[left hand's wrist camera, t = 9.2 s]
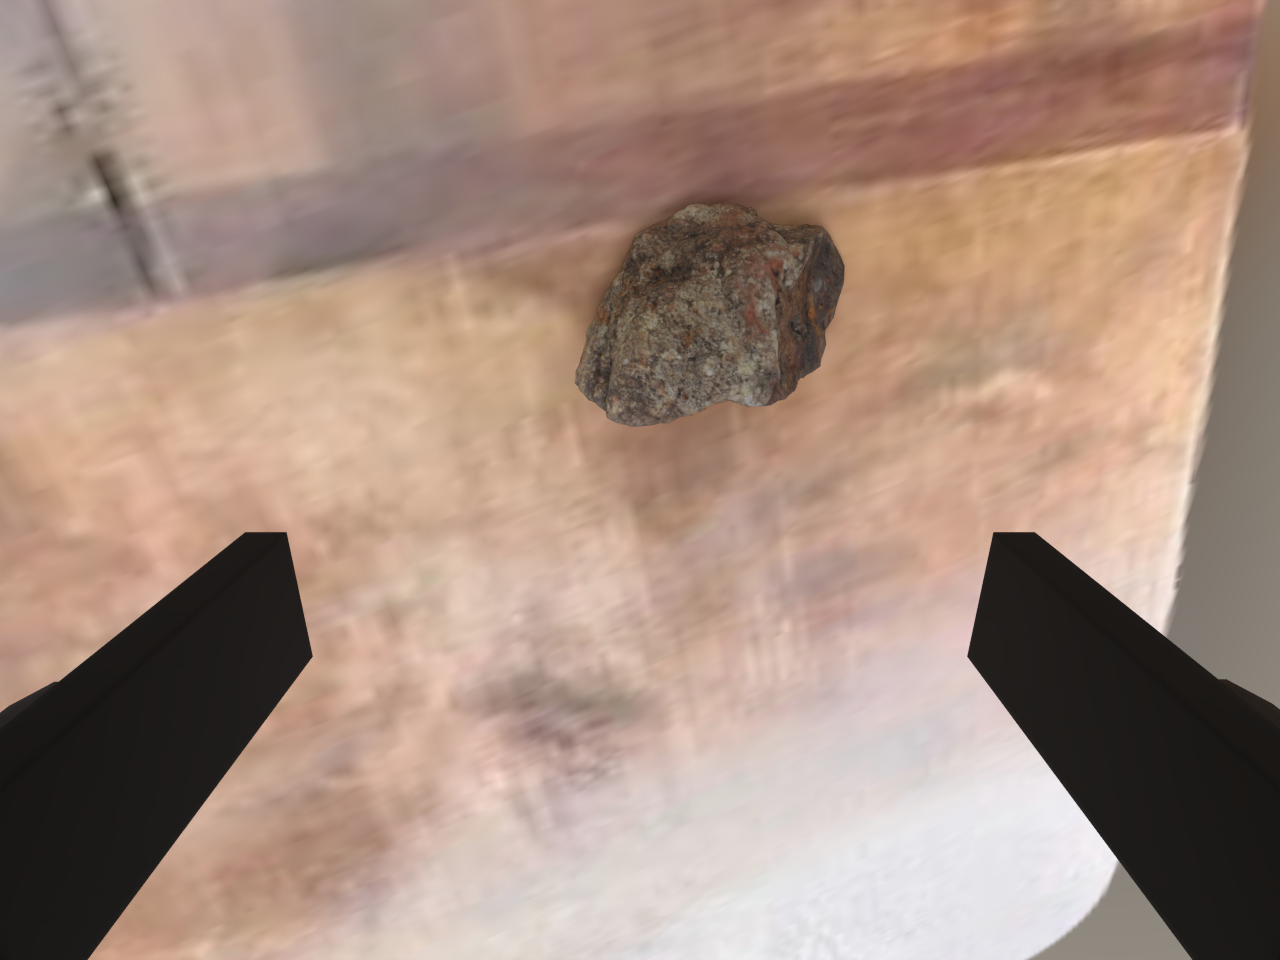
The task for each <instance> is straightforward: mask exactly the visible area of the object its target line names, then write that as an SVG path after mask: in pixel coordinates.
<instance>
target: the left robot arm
mask: <svg viewBox="0 0 1280 960" xmlns="http://www.w3.org/2000/svg"><path fill="white" fill-rule="evenodd" d="M312 657H313V656H312V651H311V646H310V641H309V637H308V632H307V627H306V622H305V618H304V613H303V608H302V604H301V599H300V594H299V589H298V585H297V580H296V575H295V570H294V566H293V561H292V556H291V551H290V547H289V542H288V537H287V532H245V533H244V534H242V535H241V536H240V537H239V538H238V539H236V540H235V541H234V542H233V543H231V544H230V545H229V546H228V547H226V548H225V549H224V550H223V551H221V552H220V553H219V554H218V555H216V556H215V557H214V558H213V559H211V560H210V561H209V562H208V563H206V564H205V565H204V566H203V567H201V568H200V569H199V570H198V571H196V572H195V573H194V574H193V575H191V576H190V577H189V578H188V579H186V580H185V581H184V582H183V583H181V584H180V585H179V586H178V587H176V588H175V589H174V590H173V591H171V592H170V593H169V594H168V595H166V596H165V597H164V598H163V599H161V600H160V601H159V602H158V603H156V604H155V605H154V606H153V607H151V608H150V609H149V610H148V611H146V612H145V613H144V614H143V615H141V616H140V617H139V618H138V619H137V620H135V621H134V622H133V623H132V624H130V625H129V626H128V627H127V628H125V629H124V630H123V631H122V632H120V633H119V634H118V635H117V636H115V637H114V638H113V639H112V640H110V641H109V642H108V643H107V644H105V645H104V646H103V647H102V648H100V649H99V650H98V651H97V652H95V653H94V654H93V655H92V656H90V657H89V658H88V659H87V660H85V661H84V662H83V663H82V664H80V665H79V666H78V667H77V668H75V669H74V670H73V671H72V672H70V673H69V674H68V675H67V676H65V677H64V678H63V679H62V680H60V681H59V682H53V683H51V684H49V685H48V686H46V687H44V688H42V689H40V690H38V691H36V692H34V693H33V694H31V695H29V696H27V697H25V698H23V699H21V700H19V701H18V702H16V703H14V704H12V705H10V706H8V707H7V708H6V709H4V710H3V711H2V712H1V713H0V960H88V958H89V957H90V956H91V954H92V953H93V952H94V950H95V949H96V948H97V946H98V945H99V944H100V942H101V941H102V940H103V938H104V937H105V935H106V934H107V933H108V931H109V930H110V929H111V927H112V926H113V925H114V923H115V922H116V921H117V919H118V918H119V917H120V915H121V914H122V913H123V911H124V910H125V909H126V907H127V906H128V905H129V903H130V902H131V900H132V899H133V898H134V896H135V895H136V894H137V892H138V891H139V890H140V888H141V887H142V886H143V884H144V883H145V882H146V880H147V879H148V878H149V876H150V875H151V874H152V872H153V871H154V870H155V868H156V867H157V865H158V864H159V863H160V861H161V860H162V859H163V857H164V856H165V855H166V853H167V852H168V851H169V849H170V848H171V847H172V845H173V844H174V843H175V841H176V840H177V839H178V837H179V836H180V834H181V833H182V832H183V830H184V829H185V828H186V826H187V825H188V824H189V822H190V821H191V820H192V818H193V817H194V816H195V814H196V813H197V812H198V810H199V809H200V808H201V806H202V805H203V804H204V802H205V801H206V799H207V798H208V797H209V795H210V794H211V793H212V791H213V790H214V789H215V787H216V786H217V785H218V783H219V782H220V781H221V779H222V778H223V777H224V775H225V774H226V773H227V771H228V770H229V769H230V767H231V766H232V764H233V763H234V762H235V760H236V759H237V758H238V756H239V755H240V754H241V752H242V751H243V750H244V748H245V747H246V746H247V744H248V743H249V742H250V740H251V739H252V738H253V736H254V735H255V734H256V732H257V731H258V729H259V728H260V727H261V725H262V724H263V723H264V721H265V720H266V719H267V717H268V716H269V715H270V713H271V712H272V711H273V709H274V708H275V707H276V705H277V704H278V703H279V701H280V700H281V698H282V697H283V696H284V694H285V693H286V692H287V690H288V689H289V688H290V686H291V685H292V684H293V682H294V681H295V680H296V678H297V677H298V676H299V674H300V673H301V672H302V670H303V669H304V668H305V666H306V665H307V663H308V662H309V661H310V659H311V658H312ZM967 657H968V658H969V659H970V661H971V662H972V663H973V665H974V666H975V668H976V669H977V670H978V672H979V673H980V674H981V676H982V677H983V678H984V680H985V681H986V682H987V684H988V685H989V686H990V688H991V689H992V690H993V692H994V693H995V694H996V696H997V697H998V698H999V700H1000V701H1001V703H1002V704H1003V705H1004V707H1005V708H1006V709H1007V711H1008V712H1009V713H1010V715H1011V716H1012V717H1013V719H1014V720H1015V721H1016V723H1017V724H1018V725H1019V727H1020V728H1021V729H1022V731H1023V732H1024V734H1025V735H1026V736H1027V738H1028V739H1029V740H1030V742H1031V743H1032V744H1033V746H1034V747H1035V748H1036V750H1037V751H1038V752H1039V754H1040V755H1041V756H1042V758H1043V759H1044V760H1045V762H1046V763H1047V764H1048V766H1049V767H1050V769H1051V770H1052V771H1053V773H1054V774H1055V775H1056V777H1057V778H1058V779H1059V781H1060V782H1061V783H1062V785H1063V786H1064V787H1065V789H1066V790H1067V791H1068V793H1069V794H1070V795H1071V797H1072V798H1073V799H1074V801H1075V802H1076V804H1077V805H1078V806H1079V808H1080V809H1081V810H1082V812H1083V813H1084V814H1085V816H1086V817H1087V818H1088V820H1089V821H1090V822H1091V824H1092V825H1093V826H1094V828H1095V829H1096V830H1097V832H1098V833H1099V834H1100V836H1101V837H1102V839H1103V840H1104V841H1105V843H1106V844H1107V845H1108V847H1109V848H1110V849H1111V851H1112V852H1113V853H1114V855H1115V856H1116V857H1117V859H1118V860H1119V861H1120V863H1121V864H1122V865H1123V867H1124V868H1125V870H1126V871H1127V872H1128V874H1129V875H1130V876H1131V878H1132V879H1133V880H1134V882H1135V883H1136V884H1137V886H1138V887H1139V888H1140V890H1141V891H1142V892H1143V894H1144V895H1145V896H1146V898H1147V899H1148V900H1149V902H1150V903H1151V905H1152V906H1153V907H1154V909H1155V910H1156V911H1157V913H1158V914H1159V915H1160V917H1161V918H1162V919H1163V921H1164V922H1165V923H1166V925H1167V926H1168V927H1169V929H1170V930H1171V931H1172V933H1173V934H1174V935H1175V937H1176V938H1177V940H1178V941H1179V942H1180V944H1181V945H1182V946H1183V948H1184V949H1185V950H1186V952H1187V953H1188V954H1189V956H1190V957H1191V958H1192V960H1280V709H1278V708H1277V707H1276V706H1275V705H1273V704H1272V703H1270V702H1268V701H1266V700H1264V699H1262V698H1261V697H1259V696H1257V695H1255V694H1253V693H1251V692H1249V691H1247V690H1245V689H1243V688H1242V687H1240V686H1238V685H1236V684H1234V683H1232V682H1230V681H1228V680H1227V679H1217V678H1216V677H1215V676H1213V675H1212V674H1211V673H1210V672H1208V671H1207V670H1206V669H1205V668H1203V667H1202V666H1201V665H1200V664H1198V663H1197V662H1196V661H1195V660H1193V659H1192V658H1191V657H1190V656H1188V655H1187V654H1186V653H1185V652H1183V651H1182V650H1181V649H1180V648H1178V647H1177V646H1176V645H1175V644H1173V643H1172V642H1171V641H1170V640H1168V639H1167V638H1166V637H1165V636H1163V635H1162V634H1161V633H1160V632H1158V631H1157V630H1156V629H1155V628H1153V627H1152V626H1151V625H1150V624H1148V623H1147V622H1146V621H1145V620H1143V619H1142V618H1141V617H1140V616H1139V615H1137V614H1136V613H1135V612H1134V611H1132V610H1131V609H1130V608H1129V607H1127V606H1126V605H1125V604H1124V603H1122V602H1121V601H1120V600H1119V599H1117V598H1116V597H1115V596H1114V595H1112V594H1111V593H1110V592H1109V591H1107V590H1106V589H1105V588H1104V587H1102V586H1101V585H1100V584H1099V583H1097V582H1096V581H1095V580H1094V579H1092V578H1091V577H1090V576H1089V575H1087V574H1086V573H1085V572H1084V571H1082V570H1081V569H1080V568H1079V567H1077V566H1076V565H1075V564H1074V563H1072V562H1071V561H1070V560H1069V559H1067V558H1066V557H1065V556H1064V555H1062V554H1061V553H1060V552H1059V551H1057V550H1056V549H1055V548H1054V547H1052V546H1051V545H1050V544H1049V543H1047V542H1046V541H1045V540H1044V539H1042V538H1041V537H1040V536H1039V535H1038V534H1036V533H1035V532H993V537H992V542H991V547H990V551H989V556H988V561H987V566H986V570H985V575H984V580H983V585H982V589H981V594H980V599H979V604H978V608H977V613H976V618H975V622H974V627H973V632H972V637H971V641H970V646H969V651H968V656H967Z"/></svg>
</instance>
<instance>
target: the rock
mask: <svg viewBox="0 0 1280 960" xmlns="http://www.w3.org/2000/svg"><path fill="white" fill-rule="evenodd" d="M843 283H844V264H843V261H842V259H841V257H840V255H839V253H838V251H837V249H836V247H835V245H834V244H833V241H832V240H831V237H830V235H829V233H828V232H826V231H825V230H824V228H823V227H822V226H815V225H813V226H810V225H808V224H805V225H800V226H799V225H787V226H784V225H775V224H771V223H769V222H768V221H766V220H765V219H763V218H761V217H759V216H757V213H756V211H755V210H754V209H753V208H752V207H751V208H745V207H743V206H741V205H739V204H735V203H732V204H726V203H717V204H715V205H714V204H700V203H695V204H690V205H688V206H687V207H686V208H684V209H681V210H680V211H678V212H677V213H675V214H674V215H673V216H671V217H669V218H668V219H667V220H665V221H662V222H659V223H656V224H654V225H652V226H651V227H649V228H648V229H645V230H643V231H641V232H640V233H638V234H637V235H636V236H635V237H634V240H633V245H632V246H631V248H630V251H629V252H628V253H627V254H626V258H625V261H624V263H623V265H622V267H621V271H620V272H619V274H618V275H617V276H616V277H615V279H614V281H613V282H612V284H611V286H610V287H609V288H608V290H607V291H606V293H605V295H604V297H603V299H602V300H601V302H600V305H599V307H598V310H597V315H596V317H595V318H594V320H593V322H592V323H591V325H590V326H589V328H588V330H587V332H586V334H587V340H586V344H585V347H584V349H583V353H582V356H581V360H580V364H579V366H578V368H577V370H576V379H575V384H576V385H577V386H578V387H579V390H580V391H581V392H582V393H583V394H584V395H585V396H586V397H587V399H588V400H590V401H593V402H595V403H596V404H597V405H598V406H599V407H600V408H602V409H603V410H605V411H606V415H607V418H608V419H610V420H612V421H614V422H616V423H618V424H623V425H628V426H647V425H654V424H659V423H670V422H672V421H673V420H675V419H677V418H679V417H682V416H689V415H694V414H696V413H698V412H700V411H702V410H704V409H706V408H707V407H709V406H710V405H712V404H716V403H721V402H725V401H729V400H730V401H733V402H736V403H739V404H742V405H744V406H747V407H757V406H768V405H772V404H774V403H775V402H776V401H779V400H784V399H786V398H787V397H788V395H790V394H791V393H792V392H793V391H795V389H796V387H797V384H798V381H799V379H800V378H804V377H805V376H806V375H807V374H809V373H812V372H813V371H815V370H816V369H817V368H819V367H820V362H821V358H822V356H823V353H824V349H825V346H826V340H825V330H826V328H827V327H828V325H829V324H830V322H831V321H832V319H833V318H834V314H835V309H836V306H837V302H838V299H839V296H840V293H841V290H842V286H843Z"/></svg>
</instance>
